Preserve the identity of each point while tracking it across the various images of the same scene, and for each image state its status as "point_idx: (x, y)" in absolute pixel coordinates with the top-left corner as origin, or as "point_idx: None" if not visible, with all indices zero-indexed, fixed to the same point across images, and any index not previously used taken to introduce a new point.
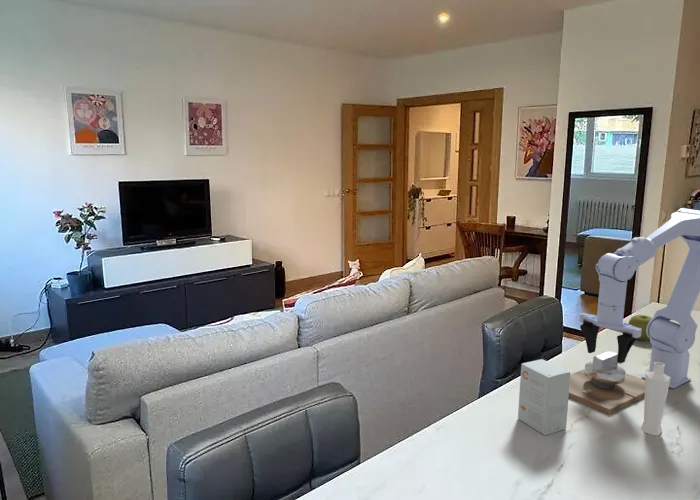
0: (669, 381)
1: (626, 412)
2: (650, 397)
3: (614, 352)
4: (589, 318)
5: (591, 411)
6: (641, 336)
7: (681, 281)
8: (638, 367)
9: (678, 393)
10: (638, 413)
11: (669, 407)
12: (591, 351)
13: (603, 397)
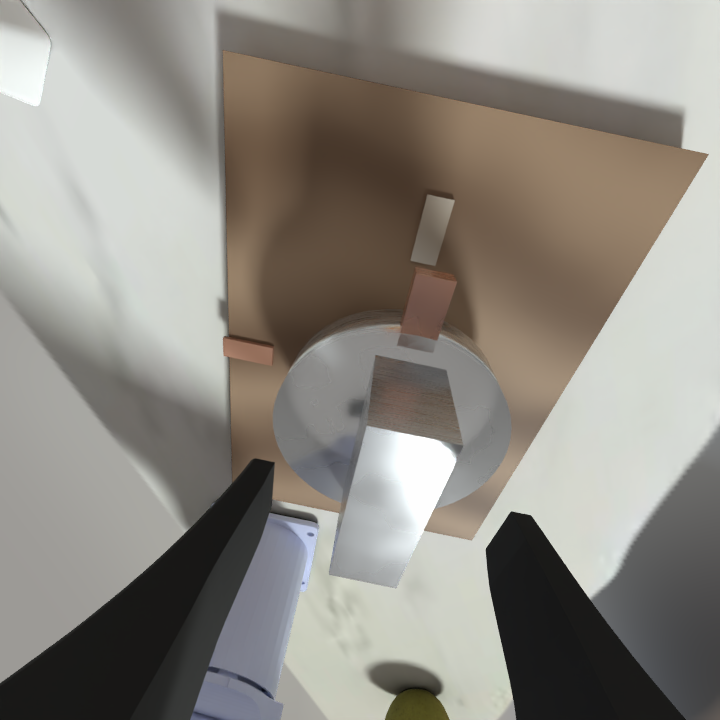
0: None
1: (199, 182)
2: None
3: (359, 580)
4: None
5: (330, 3)
6: (411, 704)
7: None
8: None
9: (188, 483)
10: (163, 219)
11: (137, 370)
12: (507, 533)
13: (328, 220)
